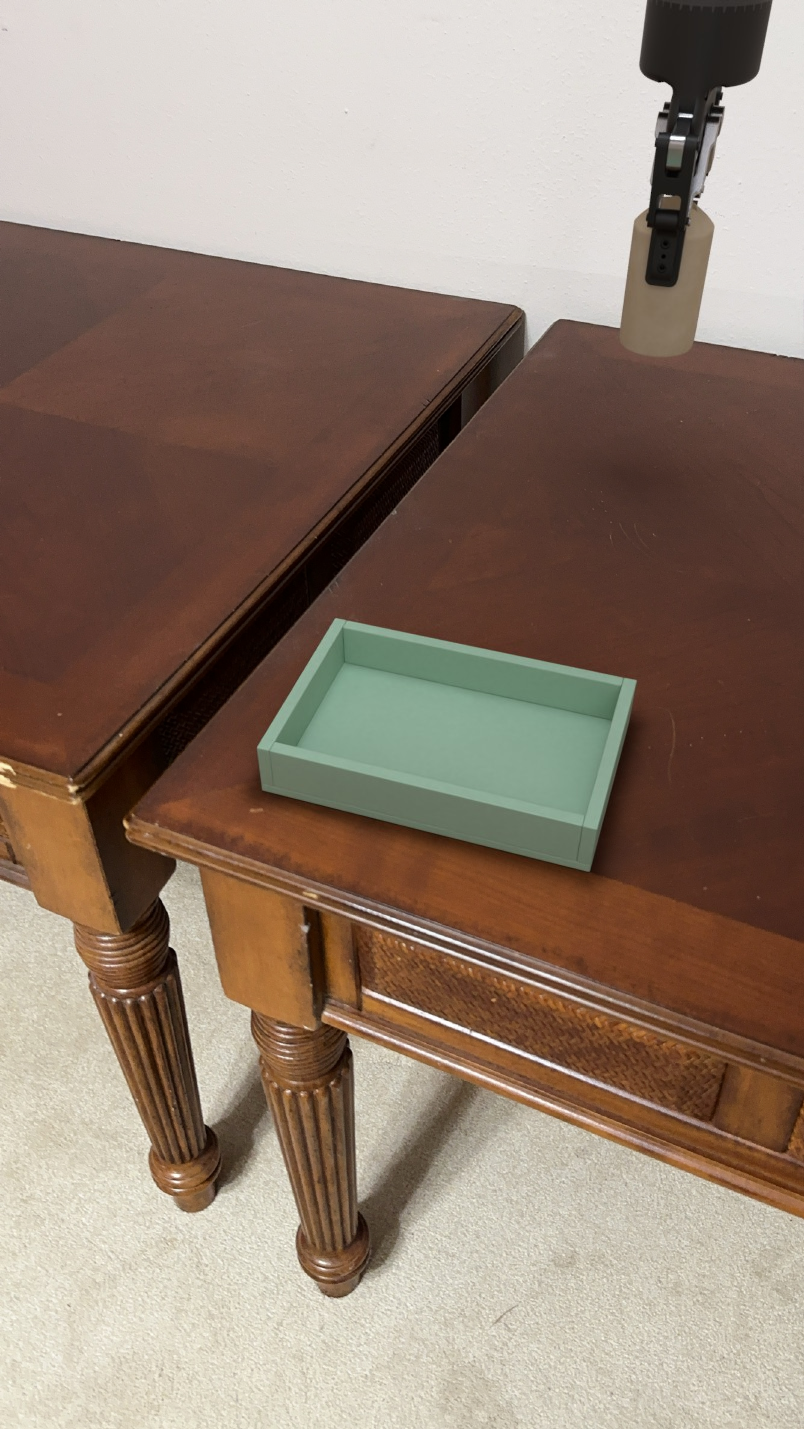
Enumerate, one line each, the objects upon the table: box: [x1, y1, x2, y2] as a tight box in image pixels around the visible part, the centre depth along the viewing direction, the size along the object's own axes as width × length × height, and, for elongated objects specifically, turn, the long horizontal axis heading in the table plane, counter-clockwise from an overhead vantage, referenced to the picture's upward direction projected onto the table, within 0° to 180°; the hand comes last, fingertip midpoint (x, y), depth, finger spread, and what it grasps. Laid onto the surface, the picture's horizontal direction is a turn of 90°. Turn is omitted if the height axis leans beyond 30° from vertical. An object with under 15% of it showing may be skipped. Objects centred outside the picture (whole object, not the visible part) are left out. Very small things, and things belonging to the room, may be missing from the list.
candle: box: [618, 195, 715, 358], centre depth 79 cm, size 6×6×10 cm
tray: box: [256, 617, 638, 873], centre depth 66 cm, size 20×13×4 cm, turn 72°
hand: (667, 267), depth 78 cm, fingers closed on candle, 5 cm apart
